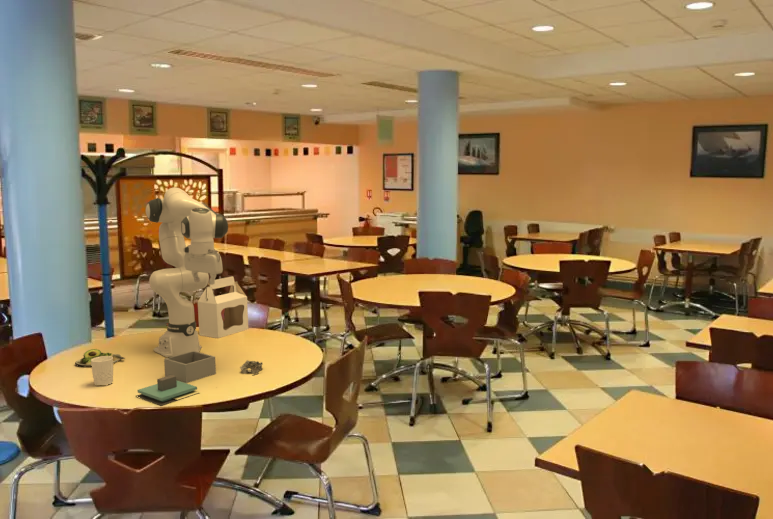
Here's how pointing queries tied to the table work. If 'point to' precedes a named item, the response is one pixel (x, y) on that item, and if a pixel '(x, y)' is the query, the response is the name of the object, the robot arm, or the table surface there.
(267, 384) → the table surface
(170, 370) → the storage box
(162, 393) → the lid
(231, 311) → the gable box
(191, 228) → the robot arm
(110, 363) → the tan cup
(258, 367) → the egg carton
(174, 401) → the rubber mat
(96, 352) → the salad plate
